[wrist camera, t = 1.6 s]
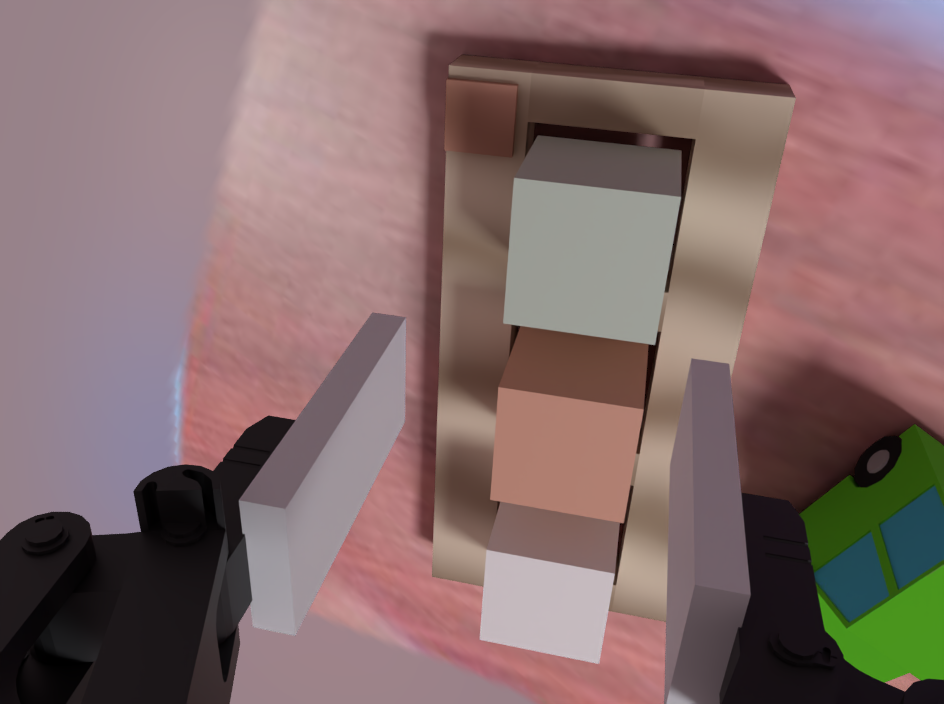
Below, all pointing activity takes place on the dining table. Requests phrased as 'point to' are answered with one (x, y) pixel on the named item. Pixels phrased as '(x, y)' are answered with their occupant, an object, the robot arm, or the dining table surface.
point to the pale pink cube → (548, 581)
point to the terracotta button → (569, 423)
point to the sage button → (592, 238)
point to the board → (685, 297)
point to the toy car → (884, 558)
